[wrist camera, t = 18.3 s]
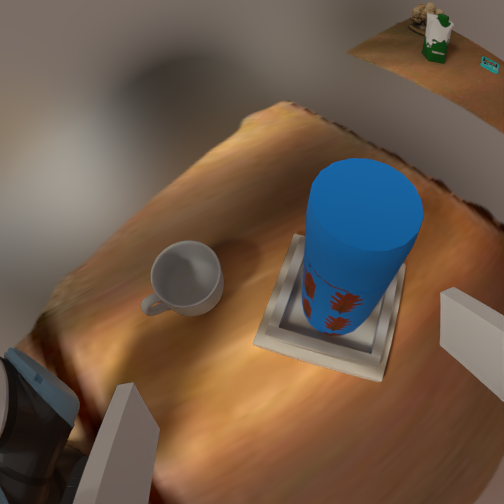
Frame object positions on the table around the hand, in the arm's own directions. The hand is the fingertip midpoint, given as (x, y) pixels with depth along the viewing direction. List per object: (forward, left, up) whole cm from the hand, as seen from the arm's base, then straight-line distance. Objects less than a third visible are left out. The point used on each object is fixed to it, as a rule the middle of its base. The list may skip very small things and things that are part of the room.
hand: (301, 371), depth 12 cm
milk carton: (+120, -20, -36) cm, 127 cm away
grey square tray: (+17, -1, -36) cm, 40 cm away
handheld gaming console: (+137, -49, -36) cm, 150 cm away
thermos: (+17, -1, -34) cm, 38 cm away
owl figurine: (+151, -20, -36) cm, 157 cm away
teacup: (+11, +22, -36) cm, 43 cm away
